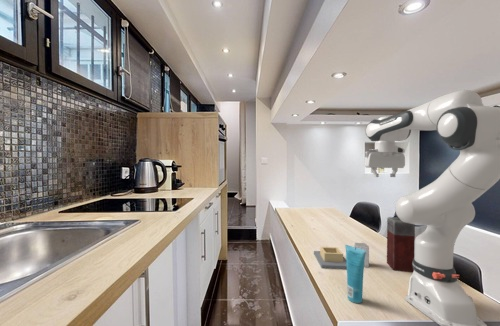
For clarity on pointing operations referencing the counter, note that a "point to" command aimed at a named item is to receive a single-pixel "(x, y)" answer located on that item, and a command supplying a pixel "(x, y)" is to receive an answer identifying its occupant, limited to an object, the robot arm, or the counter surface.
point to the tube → (355, 273)
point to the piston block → (366, 247)
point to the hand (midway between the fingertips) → (384, 177)
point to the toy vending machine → (400, 244)
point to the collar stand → (331, 258)
